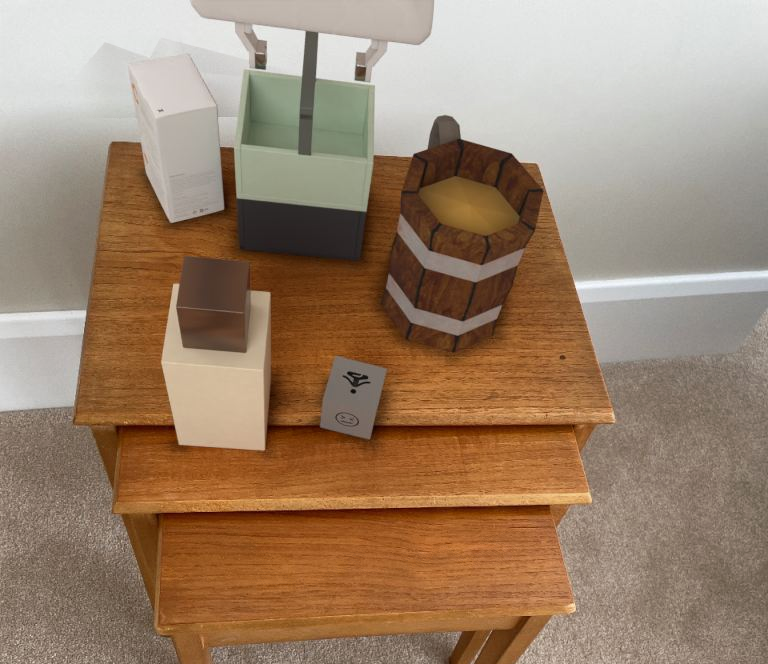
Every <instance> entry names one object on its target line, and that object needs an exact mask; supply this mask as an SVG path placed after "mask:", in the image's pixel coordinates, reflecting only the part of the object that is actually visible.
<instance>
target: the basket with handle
mask: <svg viewBox="0 0 768 664" xmlns="http://www.w3.org/2000/svg"><path fill="white" fill-rule="evenodd" d="M304 32H305V33H304V34H305V35H304V36H305V37H304V47H303V57H302V59H303V60H302V73H301V75H294V74H285V73H278V72H277V73H276V72H269V71H263V70H253V69H246V68H245V69H243V72H242V80H241V81H242V82H241V89H240V97H239V105H238V112H237V113H238V114H237V121H236V129H235V135H234V144H233V154H234V155H233V156H234V174H235V193H236V194H235V195H236V199H237V198H240V199H250V200H259V201H269V202H278V203H288V204H297V205H307V206H316V207H326V208H335V209H345V210H354V211H364V212H366V211H367V212H368V206H369V199H370V191H371V185H372V184H371V183H372V176H373V169H374V159H375V157H374V156H375V152H374V151H375V100H376V99H375V97H376V88H375V87H376V85H375V84H365V83H359V82H351V81H342V80H334V79H326V78H320V77H319V78H317V66H318V50H319V49H318V47H319V33H317V32H309V31H304Z"/></svg>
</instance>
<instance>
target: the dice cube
mask: <svg viewBox="0 0 768 664" xmlns="http://www.w3.org/2000/svg"><path fill="white" fill-rule="evenodd" d="M387 371H388V368H386V367H382V366H379V365H375V364H370V363H366V362H362V361H359V360H354V359H351V358H347V357H342V356H338V355H334V359H333V363H332V366H331V370H330V373H329V377H328V380H327V383H326V387H325V390H324V393H323V397H322V404H321V413H320V423H319V428H320V429H325V430H329V431H333V432H337V433H341V434H345V435H349V436H354V437H357V438H361V439H364V440H371V437H372V434H373V429H374V425H375V422H376V417H377V414H378V410H379V405H380V403H381V402H380V401H381V397H382V393H383V390H384V384H385V380H386V376H387Z"/></svg>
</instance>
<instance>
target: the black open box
mask: <svg viewBox="0 0 768 664" xmlns="http://www.w3.org/2000/svg"><path fill="white" fill-rule="evenodd" d="M236 212H237V214H236V215H237V230H238V249H239V250H241V251H242V250H243V251H253V252H263V253H273V254H285V255H295V256H302V257H303V256H305V257H315V258H325V259H334V260H335V259H336V260H344V261H345V260H346V261H355V262H360V261H361V254H362V247H363V240H364V234H365V233H364V232H365V226H366V219H367V213H368V210H367V211H366V212H364V211H354V210H345V209H335V208H326V207H316V206H307V205H297V204H288V203H278V202H269V201H259V200H250V199H240V198H237V197H236Z"/></svg>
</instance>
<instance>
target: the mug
mask: <svg viewBox="0 0 768 664" xmlns="http://www.w3.org/2000/svg"><path fill="white" fill-rule="evenodd" d="M432 123H433V124H432V126H431V129H430V132H429V137H428V145H427V148H426V149H424V150H421V151H418V152H414V153H413V154H412V157H411V160H410V163H409V167H408V169H407V173H406V176H405V179H404V183H403V185H402V188H401V191H400V206H399V207H400V210H399V218H398V223H397V229H396V233H395V236H394V239H393V242H392V245H391V249H390V252H389V266H388V277H387V280H386V284H385V287H384V291H383V294H382V298H381V300H380V306H381V307H382V309H383V310H384V311H385V312H386V314H387V315H388V317H389V318H390V320H391V321H392V322H393V324H394V325H395V327H396V328H397V329H398V330H399V331H398V332H400V334H401V335H402V336H403V338H404V339H405V340H406V341H410V342H414V343H418V344H421V345H424V346H428V347H431V348H434V349H439V350H441V351H447V352H450V353H455V352H456V353H457V352H458V351H460V350H461V351H462V350H463V349H465V348H468V347H470V346H473V345H474V344H477V343H479V342H481V341H483V340H485V339H489V338H490V337H492V336H494V333H495V328H496V325H497V320H498V317H499V315H500V312H501V309H502V307H503V304H504V303H505V301H506V299H507V297H508V295H509V293H510V291H511V290H512V288H513V284H514V281H515V277H516V273H517V270H518V266H519V264H520V261H521V258H522V256H523V253H524V251H525V249H526V247H527V245H528V244H529V241H530V240H531V239H532V236H533V235H534V233H535V232H536V229H537V224H538V221H539V220H538V218H539V214H540V209H541V205H542V204H541V203H542V201H543V197H544V196H543V195H544V189H543V187H542V186H541V185H540V184H539V182H537V181H536V180H535V179H534V177H533V176H532V175H531V174H530V173H529V171H528V170H527V169H526V168H525V167H524V166H523V164H522V163H521V162H520V161H519V160H518V159H517V157H516V156H515V155H514V154H513V153H512V152H509V151H505V150H501V149H498V148H493V147H490V146H487V145H483V144H480V143H476V142H474V141H473V142H472V141H469V140H466V139H462V136H461V126H460V124H459V123H458V121H457V119H455V117H453V116H451V115H447V114H443V115H438V116H437V117H436V118H435V119H434V120H433V122H432Z"/></svg>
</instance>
